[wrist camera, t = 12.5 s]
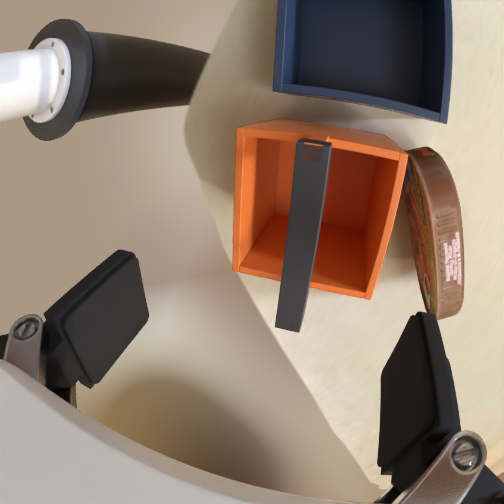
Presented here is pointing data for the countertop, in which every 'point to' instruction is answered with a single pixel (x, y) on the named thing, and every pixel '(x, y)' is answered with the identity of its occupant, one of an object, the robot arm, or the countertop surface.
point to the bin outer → (367, 53)
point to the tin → (435, 231)
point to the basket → (313, 209)
